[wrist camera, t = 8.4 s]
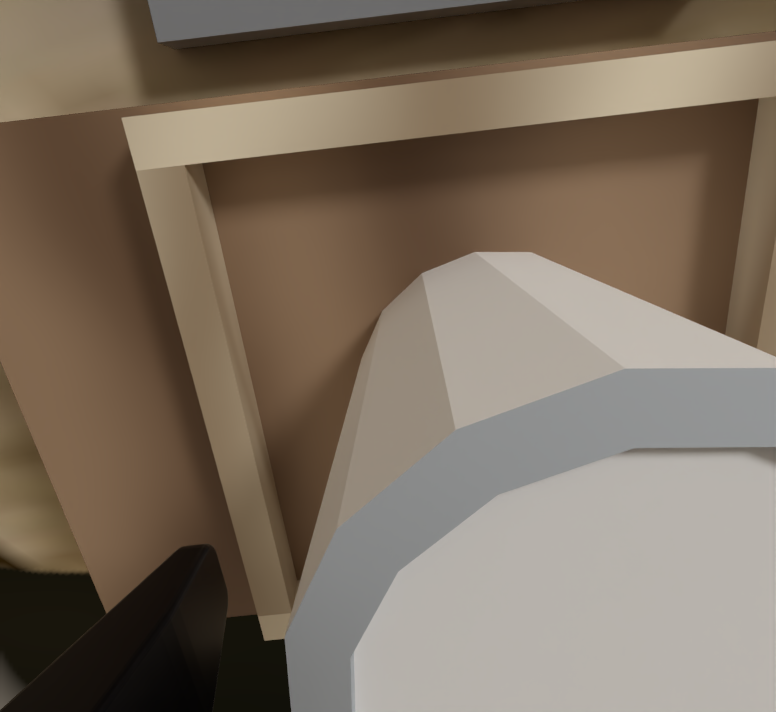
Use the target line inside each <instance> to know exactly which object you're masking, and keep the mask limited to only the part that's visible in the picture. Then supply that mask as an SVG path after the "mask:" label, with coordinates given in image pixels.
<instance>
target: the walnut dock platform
mask: <svg viewBox="0 0 776 712" xmlns="http://www.w3.org/2000/svg"><path fill="white" fill-rule="evenodd" d="M473 252H532V253H534V254H536V255H539V256H541V257H543V258H546V259H548V260H550V261H553V262H555V263H557V264H560V265H562V266H564V267H567V268H569V269H571V270H574V271H576V272H578V273H581V274H583V275H585V276H588V277H590V278H592V279H595V280H597V281H600V282H602V283H604V284H607V285H609V286H611V287H614V288H616V289H618V290H621V291H623V292H625V293H628V294H630V295H632V296H635V297H637V298H639V299H642V300H644V301H646V302H649V303H651V304H653V305H656V306H658V307H660V308H663V309H665V310H667V311H670V312H672V313H674V314H677V315H679V316H681V317H684V318H686V319H688V320H691V321H693V322H695V323H698V324H700V325H702V326H705V327H707V328H709V329H712V330H714V331H717V332H719V333H721V334H724V335H726V336H728V337H731V338H733V339H735V340H738V341H740V342H742V343H745V344H747V345H749V346H752V347H754V348H756V349H759V350H761V351H763V352H766V353H768V354H770V355H773V356H775V357H776V31H772V32H763V33H755V34H746V35H738V36H729V37H721V38H712V39H704V40H695V41H687V42H679V43H670V44H662V45H653V46H645V47H636V48H628V49H619V50H611V51H602V52H594V53H585V54H577V55H569V56H560V57H552V58H543V59H535V60H526V61H518V62H509V63H501V64H492V65H484V66H475V67H467V68H459V69H450V70H442V71H433V72H425V73H416V74H408V75H399V76H391V77H382V78H374V79H365V80H357V81H349V82H340V83H332V84H323V85H315V86H306V87H298V88H289V89H281V90H272V91H264V92H255V93H247V94H239V95H230V96H222V97H213V98H205V99H196V100H188V101H179V102H171V103H162V104H154V105H145V106H137V107H129V108H120V109H112V110H103V111H95V112H86V113H78V114H69V115H61V116H52V117H44V118H35V119H27V120H19V121H10V122H2V123H0V362H1V364H2V367H3V369H4V371H5V374H6V376H7V378H8V381H9V383H10V386H11V388H12V390H13V393H14V395H15V397H16V400H17V402H18V405H19V407H20V409H21V412H22V414H23V416H24V419H25V421H26V424H27V426H28V428H29V431H30V433H31V435H32V438H33V440H34V443H35V445H36V447H37V450H38V452H39V454H40V457H41V459H42V462H43V464H44V466H45V469H46V471H47V473H48V476H49V478H50V481H51V483H52V485H53V488H54V490H55V492H56V495H57V497H58V500H59V502H60V504H61V507H62V509H63V511H64V514H65V516H66V519H67V521H68V523H69V526H70V528H71V530H72V533H73V535H74V538H75V540H76V542H77V545H78V547H79V549H80V552H81V554H82V557H83V559H84V561H85V564H86V566H87V568H88V571H89V573H90V576H91V578H92V580H93V583H94V585H95V587H96V590H97V592H98V595H99V597H100V599H101V602H102V604H103V606H104V609H105V611H106V614H107V613H108V612H109V611H110V610H111V609H112V608H113V607H114V606H115V605H117V604H118V603H119V602H120V601H121V600H122V599H123V598H124V597H125V596H126V595H128V594H129V593H130V592H131V591H132V590H133V589H134V588H135V587H136V586H137V585H139V584H140V583H141V582H142V581H143V580H144V579H145V578H146V577H147V576H148V575H150V574H151V573H152V572H153V571H154V570H155V569H156V568H157V567H158V566H159V565H161V564H162V563H163V562H164V561H165V560H166V559H167V558H168V557H169V556H170V555H172V554H173V553H174V552H175V551H176V550H177V549H179V548H180V547H183V546H188V545H197V544H210V545H212V546H213V547H214V549H215V550H216V553H217V556H218V560H219V563H220V566H221V570H222V573H223V576H224V580H225V583H226V587H227V591H228V610H227V616H226V617H236V616H245V615H254V614H257V615H258V618H259V622H260V626H261V629H262V633H263V637H264V640H265V641H266V640H276V639H285V634H286V630H287V626H288V623H289V619H290V615H291V612H292V608H293V605H294V601H295V597H296V594H297V590H298V587H299V583H300V579H301V576H302V572H303V568H304V565H305V561H306V558H307V554H308V550H309V547H310V543H311V540H312V536H313V532H314V529H315V525H316V521H317V518H318V514H319V511H320V507H321V503H322V500H323V496H324V493H325V489H326V485H327V482H328V478H329V475H330V471H331V467H332V464H333V460H334V456H335V453H336V449H337V446H338V442H339V438H340V435H341V431H342V428H343V424H344V420H345V417H346V413H347V409H348V406H349V402H350V399H351V395H352V391H353V388H354V384H355V381H356V377H357V373H358V370H359V366H360V362H361V359H362V356H363V354H364V351H365V349H366V347H367V345H368V342H369V340H370V338H371V335H372V333H373V331H374V329H375V326H376V324H377V322H378V319H379V317H380V315H381V313H382V311H383V310H384V309H385V308H386V307H387V306H388V305H389V304H390V303H391V302H392V301H393V300H394V299H395V298H396V297H397V296H398V295H399V294H400V293H402V292H403V291H404V290H405V289H406V288H407V287H408V286H409V285H410V284H411V283H412V282H413V281H414V280H415V279H416V278H417V277H418V276H419V275H420V274H422V273H424V272H426V271H428V270H431V269H433V268H436V267H438V266H441V265H443V264H446V263H448V262H451V261H453V260H456V259H458V258H461V257H463V256H466V255H468V254H471V253H473Z"/></svg>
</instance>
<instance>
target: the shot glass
mask: <svg viewBox="0 0 776 712" xmlns="http://www.w3.org/2000/svg"><path fill="white" fill-rule="evenodd" d="M285 647H286V657H287V669H288V680H289V691H290V702H291V712H776V357H775V356H773V355H770V354H768V353H766V352H763V351H761V350H759V349H756V348H754V347H752V346H749V345H747V344H745V343H742V342H740V341H738V340H735V339H733V338H731V337H728V336H726V335H724V334H721V333H719V332H717V331H714V330H712V329H709V328H707V327H705V326H702V325H700V324H698V323H695V322H693V321H691V320H688V319H686V318H684V317H681V316H679V315H677V314H674V313H672V312H670V311H667V310H665V309H663V308H660V307H658V306H656V305H653V304H651V303H649V302H646V301H644V300H642V299H639V298H637V297H635V296H632V295H630V294H628V293H625V292H623V291H621V290H618V289H616V288H614V287H611V286H609V285H607V284H604V283H602V282H600V281H597V280H595V279H592V278H590V277H588V276H585V275H583V274H581V273H578V272H576V271H574V270H571V269H569V268H567V267H564V266H562V265H560V264H557V263H555V262H553V261H550V260H548V259H546V258H543V257H541V256H539V255H536V254H534V253H532V252H473V253H471V254H468V255H466V256H463V257H461V258H458V259H456V260H453V261H451V262H448V263H446V264H443V265H441V266H438V267H436V268H433V269H431V270H428V271H426V272H424V273H422V274H420V275H419V276H418V277H417V278H416V279H415V280H414V281H413V282H412V283H411V284H410V285H409V286H408V287H407V288H406V289H405V290H404V291H403V292H402V293H400V294H399V295H398V296H397V297H396V298H395V299H394V300H393V301H392V302H391V303H390V304H389V305H388V306H387V307H386V308H385V309H384V310H383V311H382V313H381V315H380V317H379V319H378V322H377V324H376V326H375V329H374V331H373V333H372V335H371V338H370V340H369V342H368V345H367V347H366V349H365V351H364V354H363V356H362V359H361V362H360V366H359V370H358V373H357V377H356V381H355V384H354V388H353V391H352V395H351V399H350V402H349V406H348V409H347V413H346V417H345V420H344V424H343V428H342V431H341V435H340V438H339V442H338V446H337V449H336V453H335V456H334V460H333V464H332V467H331V471H330V475H329V478H328V482H327V485H326V489H325V493H324V496H323V500H322V503H321V507H320V511H319V514H318V518H317V521H316V525H315V529H314V532H313V536H312V540H311V543H310V547H309V550H308V554H307V558H306V561H305V565H304V568H303V572H302V576H301V579H300V583H299V587H298V590H297V594H296V597H295V601H294V605H293V608H292V612H291V615H290V619H289V623H288V626H287V630H286V634H285Z"/></svg>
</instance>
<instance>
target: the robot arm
mask: <svg viewBox="0 0 776 712" xmlns="http://www.w3.org/2000/svg"><path fill="white" fill-rule="evenodd" d="M227 610H228V591H227V587H226V583H225V580H224V576H223V573H222V570H221V566H220V563H219V560H218V556H217V553H216V550H215V549H214V547H213V546H212V545H210V544H197V545H188V546H183V547H180V548H179V549H177V550H176V551H175V552H174V553H173V554H172V555H170V556H169V557H168V558H167V559H166V560H165V561H164V562H163V563H162V564H161V565H159V566H158V567H157V568H156V569H155V570H154V571H153V572H152V573H151V574H150V575H148V576H147V577H146V578H145V579H144V580H143V581H142V582H141V583H140V584H139V585H137V586H136V587H135V588H134V589H133V590H132V591H131V592H130V593H129V594H128V595H126V596H125V597H124V598H123V599H122V600H121V601H120V602H119V603H118V604H117V605H115V606H114V607H113V608H112V609H111V610H110V611H109V612H108V613H107V614H106V615H104V616H103V617H102V618H101V619H100V620H99V621H98V622H97V623H96V624H95V625H93V626H92V627H91V628H90V629H89V630H88V631H87V632H86V633H85V634H83V635H82V636H81V637H80V638H79V639H78V640H77V641H76V642H75V643H74V644H72V645H71V646H70V647H69V648H68V649H67V650H66V651H65V652H64V653H63V654H61V655H60V656H59V657H58V658H57V659H56V660H55V661H54V662H53V663H52V664H50V665H49V666H48V667H47V668H46V669H45V670H44V671H43V672H42V673H41V674H40V675H38V676H37V677H36V678H35V679H34V680H33V681H32V682H31V683H30V684H28V685H27V686H26V687H25V688H24V689H23V690H22V691H21V692H20V693H19V694H17V695H16V696H15V697H14V698H13V699H12V700H11V701H10V702H9V703H8V704H7V705H5V706H4V707H3V708H2V709H1V710H0V712H212V711H213V705H214V698H215V691H216V684H217V678H218V671H219V664H220V657H221V650H222V643H223V637H224V630H225V623H226V616H227Z"/></svg>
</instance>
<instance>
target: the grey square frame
mask: <svg viewBox="0 0 776 712" xmlns="http://www.w3.org/2000/svg"><path fill="white" fill-rule="evenodd" d="M574 1H583V0H148V4H149V8H150V12H151V17H152V21H153V25H154V29H155V33H156V38H157V42H158V43H160V44H163V45H165V46H168V47H171V48H173V49H182V48H190V47H198V46H207V45H215V44H224V43H232V42H240V41H249V40H257V39H265V38H274V37H282V36H290V35H299V34H307V33H315V32H324V31H332V30H340V29H349V28H357V27H366V26H374V25H382V24H391V23H399V22H407V21H416V20H424V19H432V18H441V17H449V16H457V15H466V14H474V13H483V12H491V11H499V10H508V9H516V8H524V7H533V6H541V5H549V4H558V3H566V2H574Z"/></svg>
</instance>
